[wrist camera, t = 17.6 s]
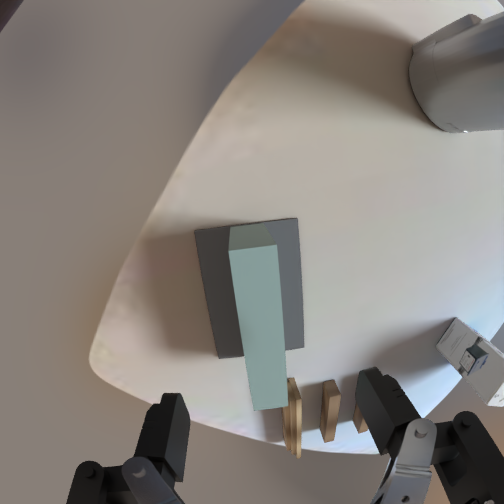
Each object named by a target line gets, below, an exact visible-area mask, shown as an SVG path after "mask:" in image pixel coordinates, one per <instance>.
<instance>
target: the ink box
mask: <svg viewBox="0 0 504 504" xmlns="http://www.w3.org/2000/svg"><path fill="white" fill-rule="evenodd" d="M436 349H437V350H438V351H439V352H440V353H441V354H442V355H443V356H444V357H445V358H446V359H447V360H448V361H449V363H450V364H451V365H452V366H453V367H454V368H455V369H456V370H457V371H458V372H459V374H460V375H461V376H462V377H463V378H464V379H465V380H466V381H467V382H468V384H469V385H470V386H471V387H472V388H473V389H474V390H475V392H476V393H477V394H478V395H479V396H480V398H481V399H482V400H483V401H484V403H485V404H487V405H488V406H499V407H503V406H504V354H503V353H502V352H501V351H500V350H499V349H497V348H496V347H495V346H494V345H493V344H492V343H490V342H489V341H488V340H487V339H486V338H484V337H483V336H482V335H480V334H479V333H478V332H477V331H475V330H474V329H472V328H471V327H469V326H468V325H467V324H465V323H464V322H462V321H461V320H460V319H458V318H457V317H456V318H455V319H454V321H453V322H452V324H451V325H450V327H449V328H448V329H447V331H446V332H445V334H444V335H443V336H442V338H441V339H440V341H439V342H438V344H437V345H436Z"/></svg>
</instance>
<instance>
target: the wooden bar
mask: <svg viewBox="0 0 504 504" xmlns="http://www.w3.org/2000/svg"><path fill="white" fill-rule="evenodd" d="M287 391H288V406H285V407H281V408H282V421H283V436H284V441H285V445H286V449H287V451H289V450H291V453H292V455H293V454H296V458H297V459H298V458H301V426H302V399H301V396H300V393H299V390H298V387H297V385H296V382H295V379H294V378H289V382H287Z"/></svg>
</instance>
